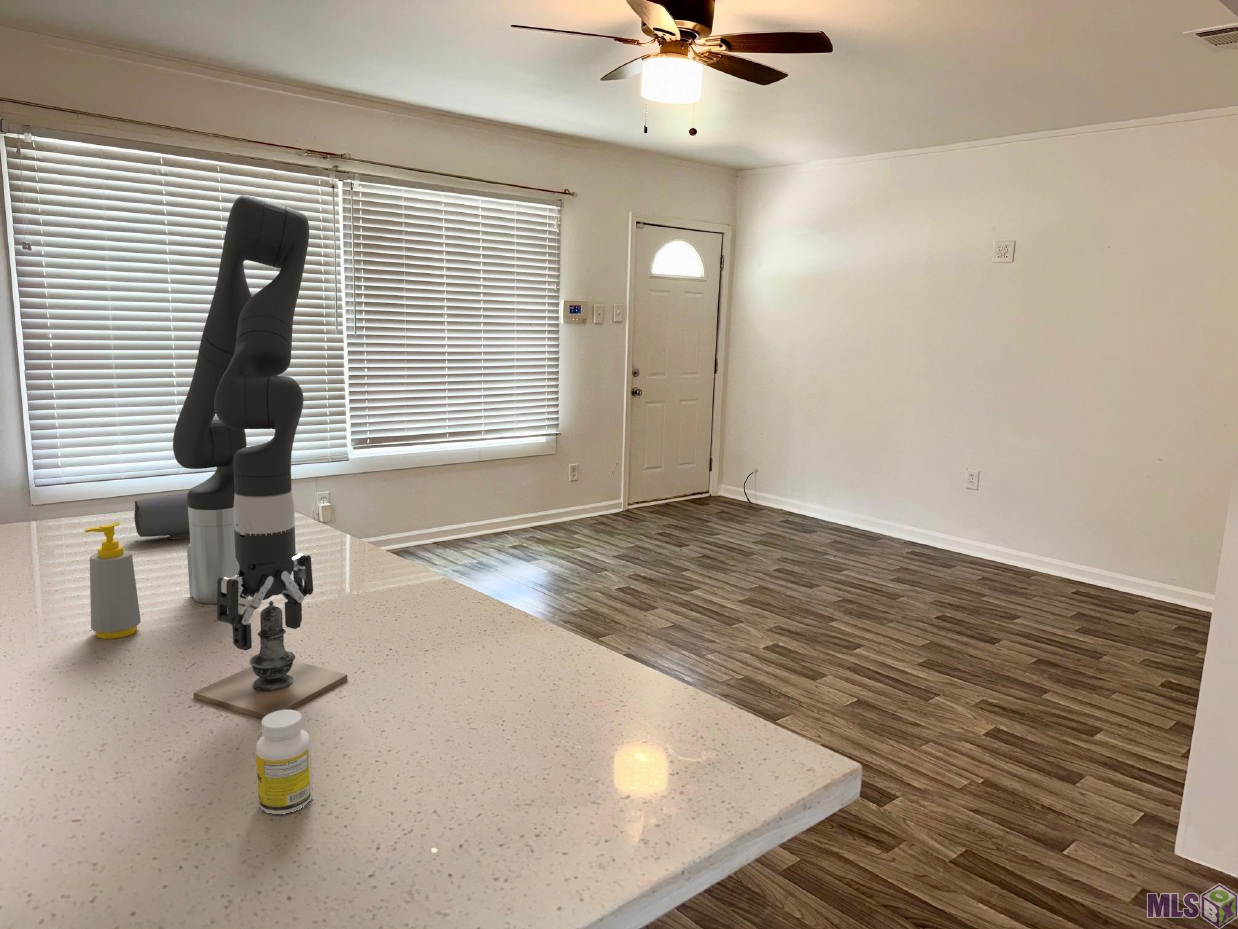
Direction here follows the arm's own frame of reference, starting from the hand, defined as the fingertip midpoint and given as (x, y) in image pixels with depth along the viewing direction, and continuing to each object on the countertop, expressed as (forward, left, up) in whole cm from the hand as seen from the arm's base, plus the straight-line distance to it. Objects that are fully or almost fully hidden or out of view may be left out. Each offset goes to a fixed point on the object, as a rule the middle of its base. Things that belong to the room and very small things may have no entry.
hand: (269, 637), depth 112 cm
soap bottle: (-37, +3, -8) cm, 38 cm away
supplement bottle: (+22, -19, -8) cm, 30 cm away
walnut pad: (0, 0, -8) cm, 8 cm away
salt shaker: (0, 0, -7) cm, 7 cm away
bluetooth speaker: (-76, +49, -8) cm, 91 cm away
